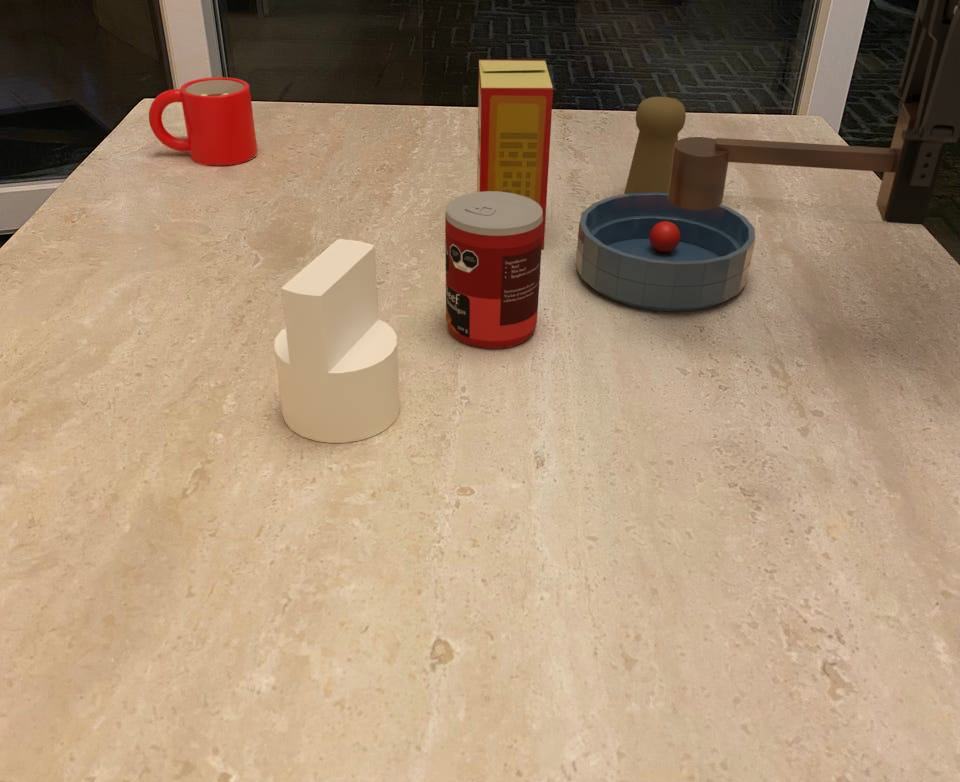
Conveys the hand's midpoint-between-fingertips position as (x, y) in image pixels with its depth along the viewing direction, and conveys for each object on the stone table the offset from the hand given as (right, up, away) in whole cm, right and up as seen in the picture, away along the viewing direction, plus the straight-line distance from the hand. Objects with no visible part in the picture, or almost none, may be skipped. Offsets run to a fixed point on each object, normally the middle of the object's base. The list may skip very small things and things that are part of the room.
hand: (900, 210), depth 79 cm
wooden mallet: (-8, +1, +1) cm, 8 cm away
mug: (-66, +17, +41) cm, 80 cm away
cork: (-14, +9, +32) cm, 36 cm away
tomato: (-15, +2, +19) cm, 24 cm away
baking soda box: (-30, +5, +25) cm, 40 cm away
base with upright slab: (-44, -16, -2) cm, 47 cm away
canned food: (-32, -8, +8) cm, 34 cm away
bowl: (-16, -2, +17) cm, 24 cm away
